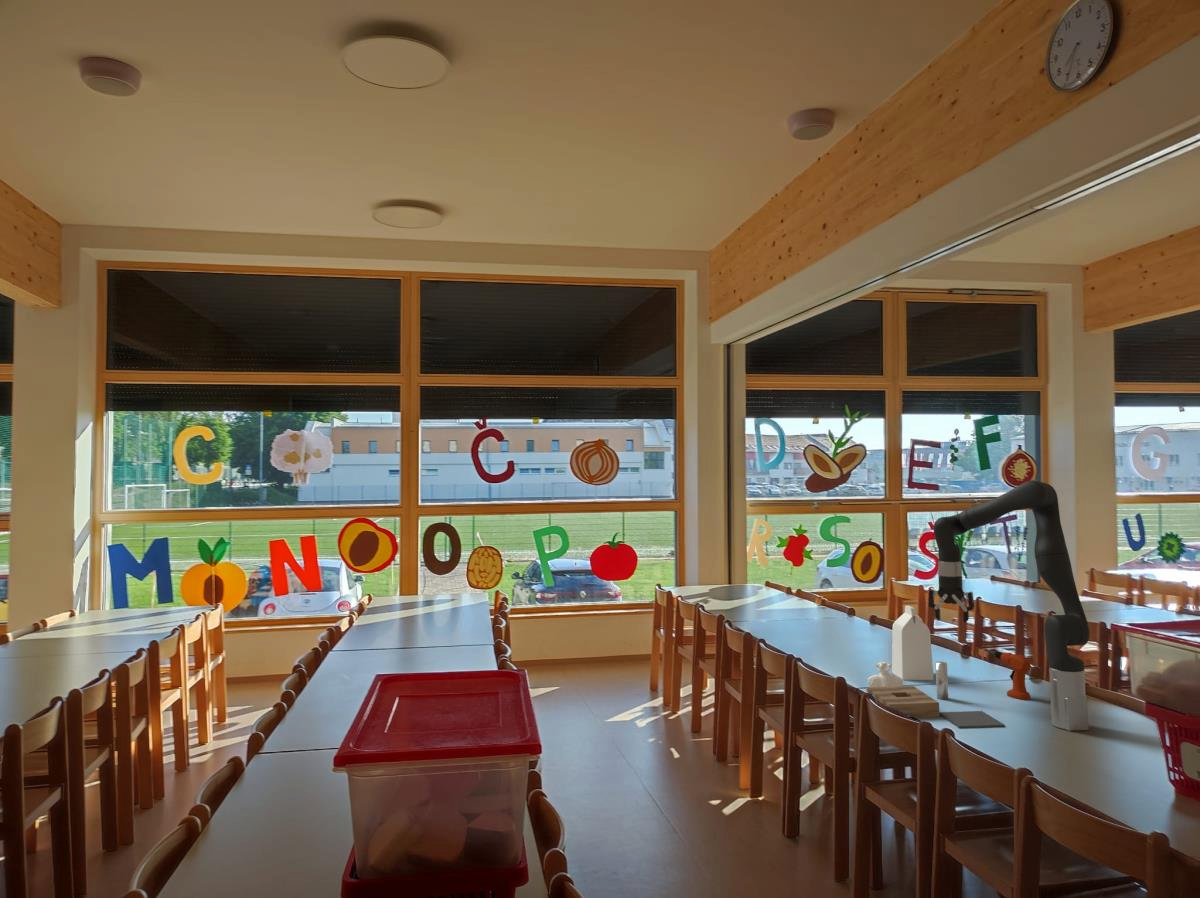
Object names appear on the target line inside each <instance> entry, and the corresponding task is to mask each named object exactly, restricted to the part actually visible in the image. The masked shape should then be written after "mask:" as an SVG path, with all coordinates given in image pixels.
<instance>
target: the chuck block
mask: <svg viewBox="0 0 1200 898" xmlns="http://www.w3.org/2000/svg"><path fill="white" fill-rule="evenodd" d="M867 692H868V693H870V694H872V695H873V696H874V697H875V698H876V699H877V700H879V701H880V702H881V703H883V704H885V705H887V706H889V707H892V708H895V709H897V710H899V711H900V712H902V713H905V714H907V715H910V716H912V717H914V718H913V719H917V718H919V717H921V718H923V719H925V718H927V717H928V718H940V717H941V716H940V715H939V712H940V703H939V702H938V701H937V700H936V699H934V698H932V697H931V696H929V695H928V694H926V693H924V692H923V691H922V690H920V689H919V688H918V687H916V686H914V685H903V686H890V687H870V686H867V687H866V693H867ZM921 718H919V719H921ZM928 718H927V719H928Z"/></svg>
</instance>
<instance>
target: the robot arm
mask: <svg viewBox="0 0 1200 898" xmlns="http://www.w3.org/2000/svg"><path fill="white" fill-rule="evenodd" d="M1025 509H1029V510H1031V511H1032V513H1033V516H1034V521H1035V524H1036V536H1035V541H1034V542H1035V543H1034V558H1035V563H1036V567H1037V573H1038V574H1039V576H1040V577H1041V579H1042V580H1043V581H1044V583H1045V584H1046V585H1047V586H1048V588H1050V590H1052V591H1053V593H1054V594H1055V595H1056V597H1057V599H1059V601H1060V604H1061V606H1062V609H1063V611H1064V612H1063V613H1064V614H1051V615H1049V616H1047V617H1046V618H1045V621H1044V626H1043V629H1044V632H1043V633H1044V640H1045V650H1046V651H1045V652H1046V657H1047V660H1048V669H1049V671H1048V672H1049V689H1050V690H1049V694H1050V695H1049V696H1050V714H1051V715H1050V716H1051V717H1050V718H1051V725H1052V726H1054V727H1056V728H1059V729H1063V730H1066V731H1089V712H1088V711H1089V707H1088V698H1087V697H1086V678H1085V677H1086V675H1085V671H1086V670H1085V662H1084V660H1083V659H1082V658H1080V657H1077V656H1074V655H1071V654H1069V651H1068V647H1071V646H1072V647H1073V646H1084V645H1087V644H1088V642H1089V640H1090V627H1089V623H1088V620H1087V616H1086V613H1085V611H1084V608H1083V604H1082V602H1081V598H1080V596H1079V592H1078V588H1077V586H1076V582H1075V577H1074V573H1073V567H1072V563H1071V559H1070V555H1069V551H1068V548H1067V543H1066V539H1065V535H1064V531H1063V527H1062V524H1061V518H1060V517H1061V516H1060V507H1059V498H1058V495H1057V491H1056V490H1055V488H1054V487H1053V486H1052V485H1051V484H1049V483H1047V482H1044V481H1039V480H1033V479H1032V480H1027V481H1025V482H1023V483H1021V484H1019V485H1018V486H1016V487H1014V488H1013V489H1010V490H1009V491H1007V492H1005V493H1003V494H1000V495H999V496H997V497H994V498H993V499H990V500H988V501H987V500H986V501H985V502H982V503H979V504H977V505H973V506H971V507H969V508H966V509H964V510H962V511H961V512H960V513H957V514H954V515H953V514H952V515H951V516H950V515H949V516H942V517H939V518H937V519H936V520H935V522H934V523H933V534H934V535H933V536H934V540H935V543H936V545H937V549H938V550H937V551H938V563H937V564H938V566H937V574H938V575H937V576H938V590H936V589H930V590H929V592H928V607H929V608H932V609H934V617H935V619H937V621H941V608H940V607H941V606H942V605H943V604H944V603H945V604H952V605H958V606H959V607H960V608H961V609H962V610H963V612H962V613H963V616H962V617H963V623H967V622H968V621H969V619H970V616H969V613H970V612H969V611H973V610H974V609H975V603H974V601H975V600H974V593H973V591H968V592H966V591H965V592H964V589H963V569H962V562H961V548H960V545H958V544H956V541H955V537H957V536H960V535H962V534H965V533H967V532H969V531H971V530H974V529H977V528H978V529H979V528H980V527H981V528H982V527H983V526H987V525H989V524H991V523H993V522H995V521H997V520H998V519H1000V518H1002V517H1003V516H1005V515H1007V514H1009V513H1011V512H1012V513H1013V512H1016V511H1019V510H1020V511H1021V510H1025ZM937 595H938V596H939V598H940V599H939V601H938V602H937V603H936V604H935V597H936V596H937ZM964 596H965V598H966V599H968V606H967V604H966V603H965V601H964V600H963V597H964Z"/></svg>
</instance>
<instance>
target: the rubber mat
mask: <svg viewBox="0 0 1200 898" xmlns="http://www.w3.org/2000/svg"><path fill="white" fill-rule="evenodd" d="M939 715H941V716H940V717H942V718H943V717H944V719H945V720H946V719H947V721H948V722H949V721H950V722H949V723H951V724H952V725H954V726H957V727H956V728H958V729H980V728H981V729H982V728H1005V727H1006V724H1005V723H1003V722H1001V721H999V720H998V719H996V718H994V717H993V716H991V715H989V714H987V713H986V712H985V711H983V710H973V711H970V710H969V711H965V710H964V711H941V712H940V711H939Z"/></svg>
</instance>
